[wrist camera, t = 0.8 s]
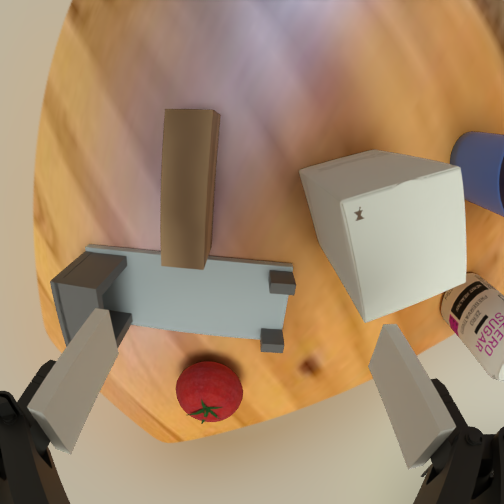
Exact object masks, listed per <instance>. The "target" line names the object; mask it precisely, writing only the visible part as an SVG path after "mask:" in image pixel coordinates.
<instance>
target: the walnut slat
mask: <svg viewBox="0 0 504 504" xmlns="http://www.w3.org/2000/svg"><path fill="white" fill-rule="evenodd" d="M219 125H220V114H218V113H217V112H215V111H214V110H201V109H165V118H164V132H163V149H162V170H161V266H166V267H176V268H187V269H198V270H204V267H205V264H206V261H207V258H208V256H209V253H210V250H211V244H212V224H213V207H214V191H215V176H216V162H217V149H218V137H219Z"/></svg>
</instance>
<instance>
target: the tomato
mask: <svg viewBox="0 0 504 504" xmlns="http://www.w3.org/2000/svg"><path fill="white" fill-rule="evenodd" d="M176 394H177V399H178V401H179V403H180V406H181V407H182V408H183V410H184V411H185V412H186V413H187V414H188V415H190V416H191V417H193V418H195V419H198V420H201V421H202V423H203V422H204V421H205V422H217V421H221V420H224V419H226V418H228V417H230V416H231V415H232V414H233V413H234V412H235V411H236V410H237V409H238V407H239V405H240V403H241V401H242V397H243V389H242V385H241V382H240V380H239V378H238V376H237V375H236V374H235V373H234V372H233V371H232V370H231V369H230V368H228V367H227V366H225V365H223V364H220V363H217V362H211V361H203V362H198V363H196V364H193V365H191V366H189V367H188V368H186V369H185V370H184V371H183V372H182V374H181V375H180V376H179V378H178V380H177V384H176ZM202 423H201V424H202Z"/></svg>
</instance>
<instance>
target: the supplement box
mask: <svg viewBox="0 0 504 504" xmlns="http://www.w3.org/2000/svg"><path fill="white" fill-rule="evenodd" d="M299 175H300V178H301V182H302V185H303V188H304V192H305V195H306V199H307V202H308V206H309V209H310V213H311V216H312V220H313V224H314V228H315V231H316V235H317V239H318V242H319V245H320V246H321V248H322V250H323V251H324V253H325V255H326V256H327V258H328V260H329V261H330V263H331V265H332V266H333V268H334V270H335V271H336V273H337V275H338V276H339V278H340V280H341V281H342V283H343V285H344V287H345V288H346V290H347V292H348V294H349V295H350V297H351V299H352V301H353V303H354V304H355V306H356V308H357V310H358V312H359V313H360V315H361V317H362V319H363V321H364V322H365V323H366V322H369V321H371V320H374V319H377V318H380V317H382V316H385V315H388V314H390V313H393V312H396V311H398V310H401V309H404V308H406V307H409V306H411V305H414V304H416V303H419V302H421V301H423V300H426V299H428V298H431V297H433V296H435V295H438V294H440V293H442V292H445V291H447V290H449V289H452V288H454V287H456V286H458V285H461V284H463V283H465V282H466V266H467V265H466V260H467V257H466V221H465V202H464V190H463V181H462V174H461V168H460V167H458V166H455V165H451V164H447V163H443V162H438V161H433V160H429V159H424V158H419V157H414V156H409V155H403V154H398V153H392V152H386V151H380V150H369V151H365V152H361V153H357V154H354V155H350V156H346V157H342V158H338V159H335V160H331V161H327V162H324V163H320V164H317V165H313V166H310V167H306V168H303V169H300V170H299Z"/></svg>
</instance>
